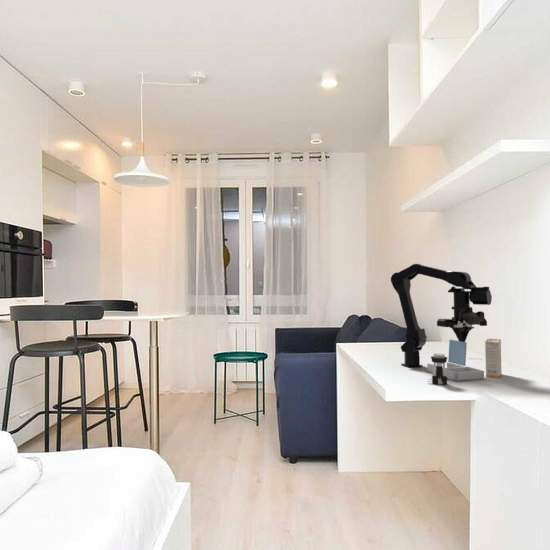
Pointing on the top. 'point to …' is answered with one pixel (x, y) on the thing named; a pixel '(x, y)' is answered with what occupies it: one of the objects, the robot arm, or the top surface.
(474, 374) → the grey tray
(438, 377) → the push button
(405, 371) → the top surface
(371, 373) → the top surface
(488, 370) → the supplement box
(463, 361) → the panel
